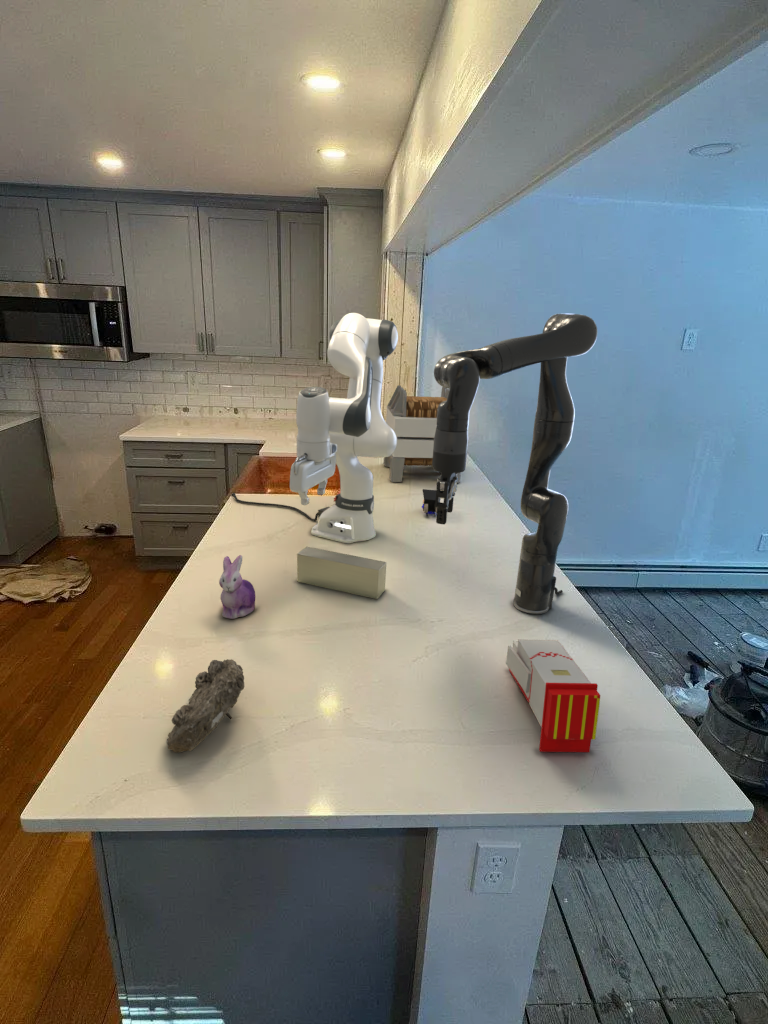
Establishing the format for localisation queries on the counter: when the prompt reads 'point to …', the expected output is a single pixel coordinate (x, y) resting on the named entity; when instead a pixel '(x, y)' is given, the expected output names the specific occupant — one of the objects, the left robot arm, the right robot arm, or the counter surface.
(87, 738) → the counter surface
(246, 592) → the figurine
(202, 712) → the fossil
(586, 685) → the toy
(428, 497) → the figurine character
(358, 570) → the box
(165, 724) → the counter surface
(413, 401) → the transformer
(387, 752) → the counter surface
